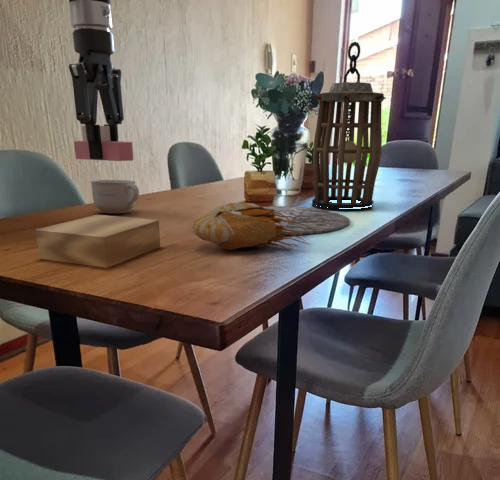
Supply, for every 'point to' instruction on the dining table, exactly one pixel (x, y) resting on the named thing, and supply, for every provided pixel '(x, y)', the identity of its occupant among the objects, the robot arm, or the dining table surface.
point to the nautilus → (242, 226)
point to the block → (98, 240)
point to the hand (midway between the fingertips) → (105, 157)
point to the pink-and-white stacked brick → (105, 147)
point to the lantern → (347, 143)
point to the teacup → (114, 195)
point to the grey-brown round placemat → (309, 220)
